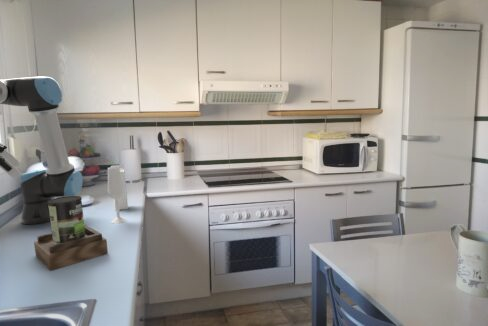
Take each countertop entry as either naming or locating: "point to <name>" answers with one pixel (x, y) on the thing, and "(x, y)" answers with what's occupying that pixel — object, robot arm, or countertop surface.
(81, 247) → the display stand
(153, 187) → the countertop surface
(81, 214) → the coffee can
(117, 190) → the champagne flute
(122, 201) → the milk
